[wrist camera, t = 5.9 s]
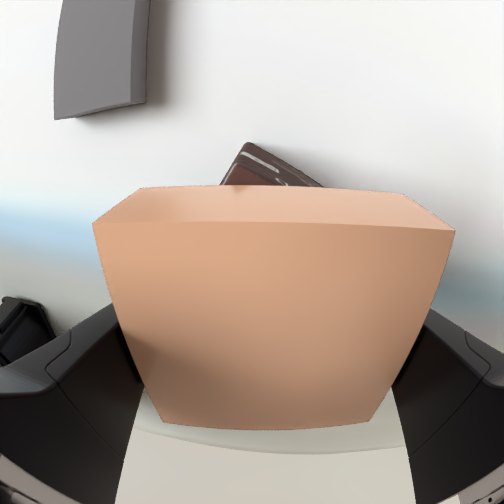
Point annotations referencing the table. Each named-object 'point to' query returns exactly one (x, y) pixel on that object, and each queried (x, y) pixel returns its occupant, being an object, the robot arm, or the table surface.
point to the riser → (100, 56)
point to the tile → (270, 299)
